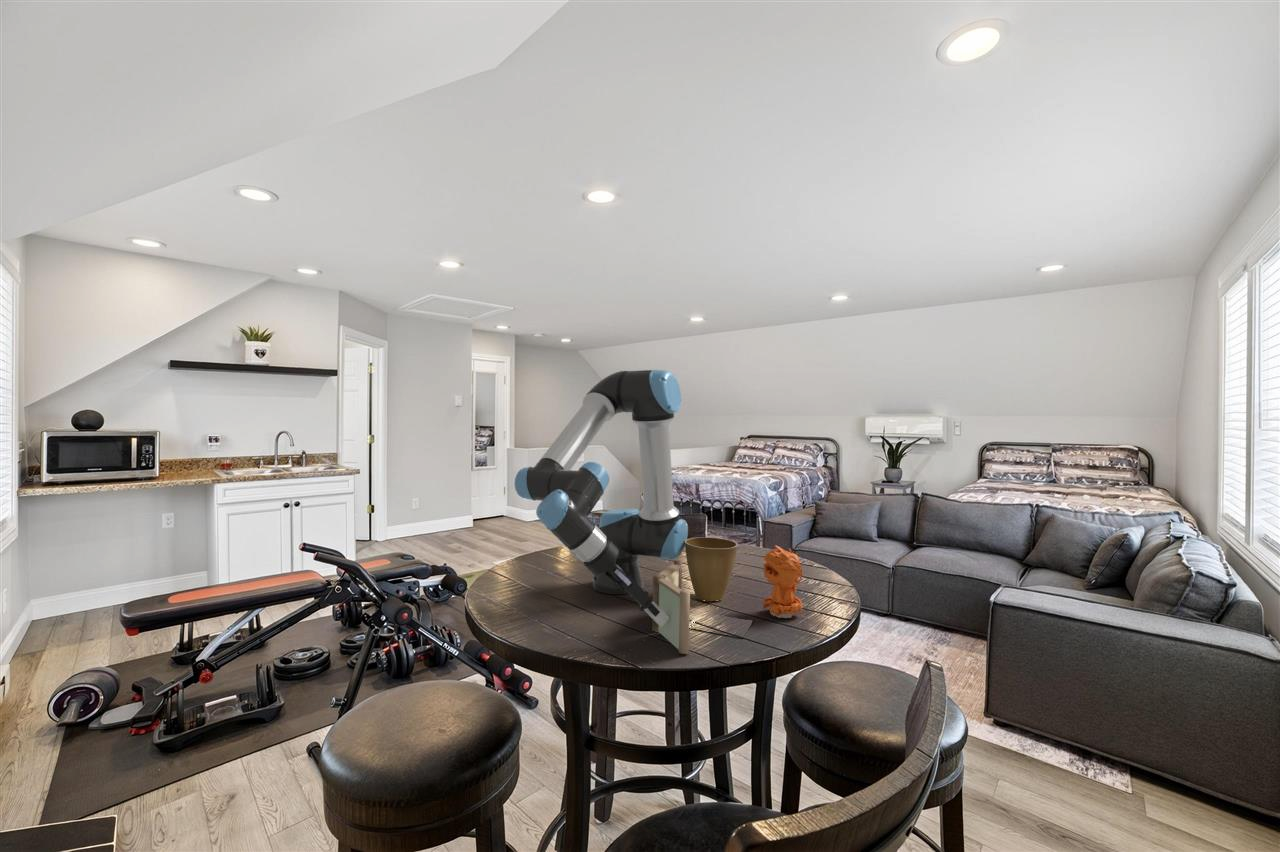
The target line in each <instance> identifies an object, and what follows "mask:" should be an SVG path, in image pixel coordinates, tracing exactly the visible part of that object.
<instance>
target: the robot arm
mask: <svg viewBox="0 0 1280 852" xmlns="http://www.w3.org/2000/svg"><path fill="white" fill-rule="evenodd" d="M681 402H682V392H681V387H680V384H679V382H678V380H677V378H676V376H675V374H673V373H672V372H671V371H669V370H665V369H664V370H661V369H645V370H643V369H641V370H620V371H617V372H614V373H611V374H609V375H607V376H605V377H604V378H603V379H601V380H600V381H599V382H598V383H596V384H595V385H594V386H593V387H592V388H591V389H590V390H589V391H588V392H587V393H586V394H585V396H584V397H583V400H582V406H581V407H580V408H579V409H578V411H577V412H576V413H575V414H574V416H573V417H572V419H570V421H569V422H568V423H567V425H566V426H565V427H564V429H562V431H561V432H560V433H559V435H558V436H557V438H555V440H554V441H553V443H552V444H551V445H550V446H549V447H548V449H547V450H546V451H545V452H544V454H543V455H542V457H541V458H540V459H539V461H538V462H537V463H536V464H535V466H527V467H523V468H521V469H519V471H518V472H517V473H516V476H515V478H514V489H515V491H516V494H517V495H518V496H519V497H521V498H522V499H526V500H532V501H540V503H539V504H538V506H537V508H536V511H535V512H536V517H537V518H538V519H539V521H540V522H541V523H542V524H543V526H545V528H546V529H547V530H548V531H549V532H551V533H552V534H553V535H554V536H555V537H556V539H558V540H559V541H560V542H561V543H562V544H563V545H564V546H565V547H566V548H567V550H569V551H570V552H571V553H570V556H571V557H572V558H575V557H576V558H577V559H578V560H579V561H580V562H583V566H584V567H586V568H587V570H588V571H589V572H590V573H591V574H593V575H594V576H593V578H592V588H593V590H595V591H596V592H598V593H599V592H600V593H602V594H606V595H607V594H609V595H629V596H630V598H631V599H632V600H634V601H635V603H636V604H639V606H640V607H639V610H640V611H641V612H643V611H644V612H645V613H646V614H647V615H648V616H649V617H650V618H651V619H653V620H654V621H655V622H656V623H657V624H658V625H659V626H660V627H662V626H663V625H664V624H665V623H666V622H667V621H668V620H669V617H668V616H667V615H666V614H665V613H664V612H663V611H662V610H661V609H660V608H659V607H658V606H657V604H656V603H655V602H654V601H653V597H650V596H649V594H650V593H649V592H648V591H646V590H644V589H643V588H644V578H643V576H642V571H641V568H640V564H639V562H638V561H639V560H638V559H639V557H638V556H640V557H646V558H653V559H657V560H659V559H660V560H662V561H664V560H668V561H674V560H678V559H679V557H680V556H681V555H682V553H683V551H684V550H685V540H687V539H688V535H689V525H688V523H687V521H686V520H685V519H683V518H680V517H681V516H680V510H679V509H678V508H677V507H676V506H674V493H673V492H674V491H673V476H672V475H673V474H672V472H673V471H672V456H671V454H672V453H671V452H672V451H671V439H670V438H671V435H670V424H671V422H672V421H673V420H674V418H675V413H677V412H678V411H679V409H680V408H681ZM620 413H631V417H632V418H631V419H632V421H633V423H635V424H636V425H637V427H638V428H637V429H638V442H639V456H640V457H639V458H640V459H639V461H640V471H641V472H640V473H641V488H642V490H641V491H642V500H643V502H642V503H643V507H642V508H641V510H640V511H639V509H638V508H621V509H612V510H608V511H605V512H603V513H601V515H600V517H599V526H597V525H596V524H595V523H594V521H592V520H591V518H590V517H589V515H590V513H591V512H592V511H593V509H594V508H595V507H596V505H597V503H598V502H599V500H600V499H601V497H602V496H603V495H604V494H605V490H606V489H607V487H608V485H609V484H610V476H609V473H608V470H606V468H605V467H603V466H602V465H601V464H600V463H598V462H594V461H588V462H585V463H583V464H582V465H581V466H580V467H579V469H578V470H572V468H574V466H575V464H576V463H577V462H578V460H579V459H580V457H581V456H582V454H583V453H584V451H585V450H586V449H587V448H588V446H589V445H590V444H591V442H592V441H593V439H594V438H595V437H596V435H597V434H598V433H599V431H600V430H601V428H603V425H604V424H605V423H606V422H609V421H611V420H612V419H613V418H614V416H615V415H617V414H620Z"/></svg>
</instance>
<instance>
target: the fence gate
mask: <svg viewBox="0 0 1280 852" xmlns="http://www.w3.org/2000/svg"><path fill="white" fill-rule="evenodd" d="M658 583H659V608H660V609H661V610H662V611H663V612H664V613H665V614H666V615H667V616H668V617H669V620H668V621H667V622H666V623H665V624H664V625H663V626H662V627H660V626H658V632H659V633H660V635H661V636H663V637H664V638H665V639H666V640H667V641H668V642H669V643H671V645H673V646H674V647H675V648H676V649H677V650H678V653H679V654H683V655H687V654H689V653H690V629H689V624H690V622H691V621H690V620H691V619H690V617H691V614H690V612H691V611H690V610H691V591H690V590H686V589H680V588H679V587H677V586H676V585H674V584H673V583H671V582H670V581H668V580H666V579H658ZM659 633H658V634H659Z"/></svg>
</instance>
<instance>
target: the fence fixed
mask: <svg viewBox="0 0 1280 852" xmlns="http://www.w3.org/2000/svg"><path fill="white" fill-rule="evenodd" d="M658 579H666V580H668V581H670V582H671V583H673V584H674V585H676V586H677V587H679V588H680V589H682V588H683V560H681V559H675V560H673V563H672V564H671V565H669V566H668V567H667V568H665V569H664V570H661V572H659V573H658V574H654V575H653V576H652V600H653V601H654V602H655V603H656V604H657V606H658V607H659V583H658ZM682 590H683V589H682ZM651 619H652V618H651ZM651 623H652V625H651V626H652V627H651V630H652V631H651V632H653V631H655V632H654V633H656V632H658V626H659V625H658V624H657V623H656V622H655V621H654V620H653V619H652V620H651Z"/></svg>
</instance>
